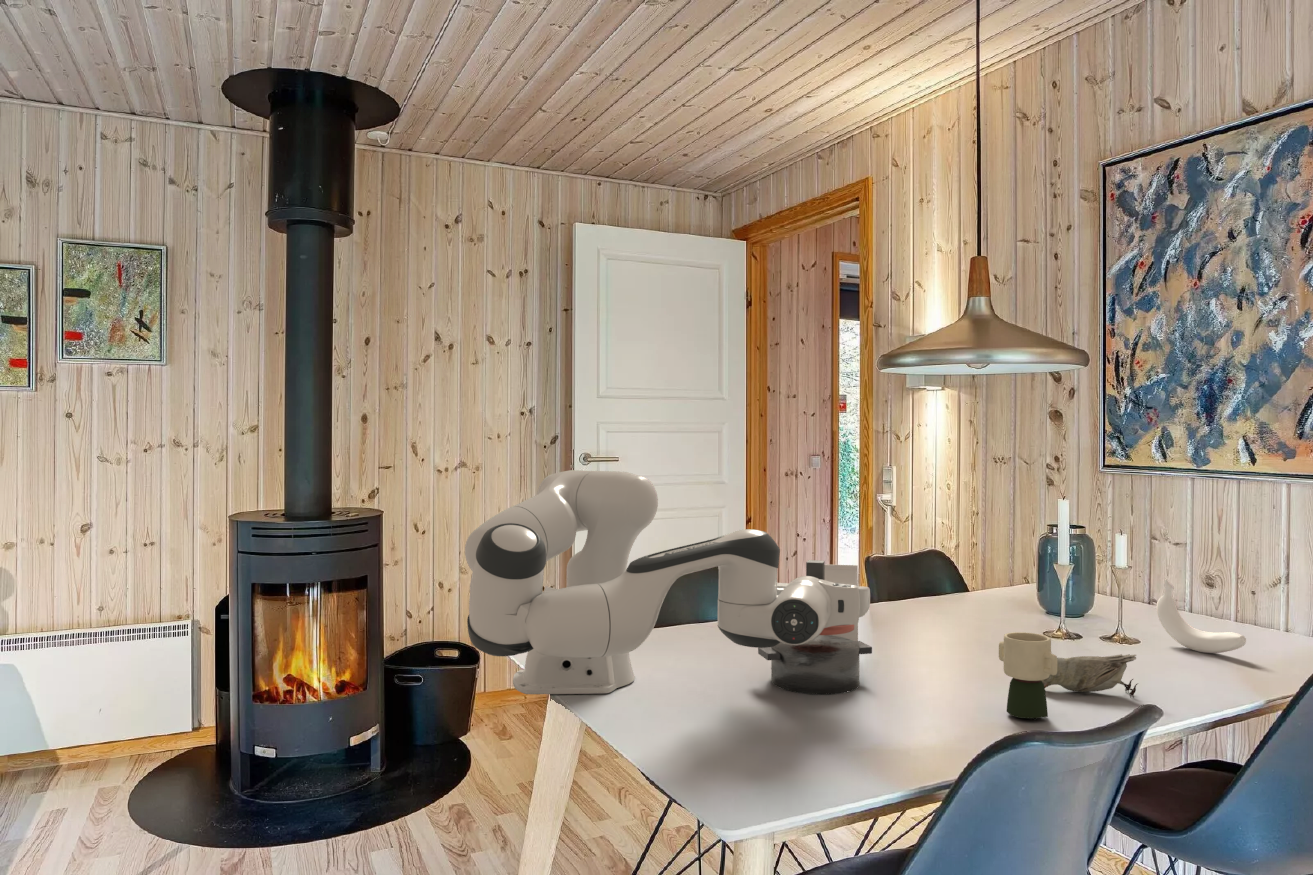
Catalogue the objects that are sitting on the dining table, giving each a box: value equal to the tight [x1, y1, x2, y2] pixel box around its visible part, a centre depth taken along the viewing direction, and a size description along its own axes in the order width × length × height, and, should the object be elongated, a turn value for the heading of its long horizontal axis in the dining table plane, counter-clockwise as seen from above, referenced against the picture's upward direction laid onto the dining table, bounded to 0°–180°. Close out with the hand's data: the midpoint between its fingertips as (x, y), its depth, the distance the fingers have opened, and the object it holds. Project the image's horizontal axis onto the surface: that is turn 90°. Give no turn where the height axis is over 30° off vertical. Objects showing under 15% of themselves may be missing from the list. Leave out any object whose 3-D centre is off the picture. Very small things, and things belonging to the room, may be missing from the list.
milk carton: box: [825, 563, 859, 641], centre depth 181 cm, size 7×7×19 cm
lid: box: [805, 559, 854, 635], centre depth 163 cm, size 14×14×12 cm
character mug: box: [998, 631, 1058, 721], centre depth 143 cm, size 11×7×13 cm, turn 29°
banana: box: [1155, 577, 1247, 654], centre depth 185 cm, size 5×19×15 cm, turn 28°
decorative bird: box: [1041, 653, 1139, 699], centre depth 156 cm, size 5×16×8 cm, turn 77°
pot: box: [757, 635, 873, 696], centre depth 163 cm, size 20×16×7 cm
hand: (816, 589), depth 164 cm, fingers closed on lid, 3 cm apart
